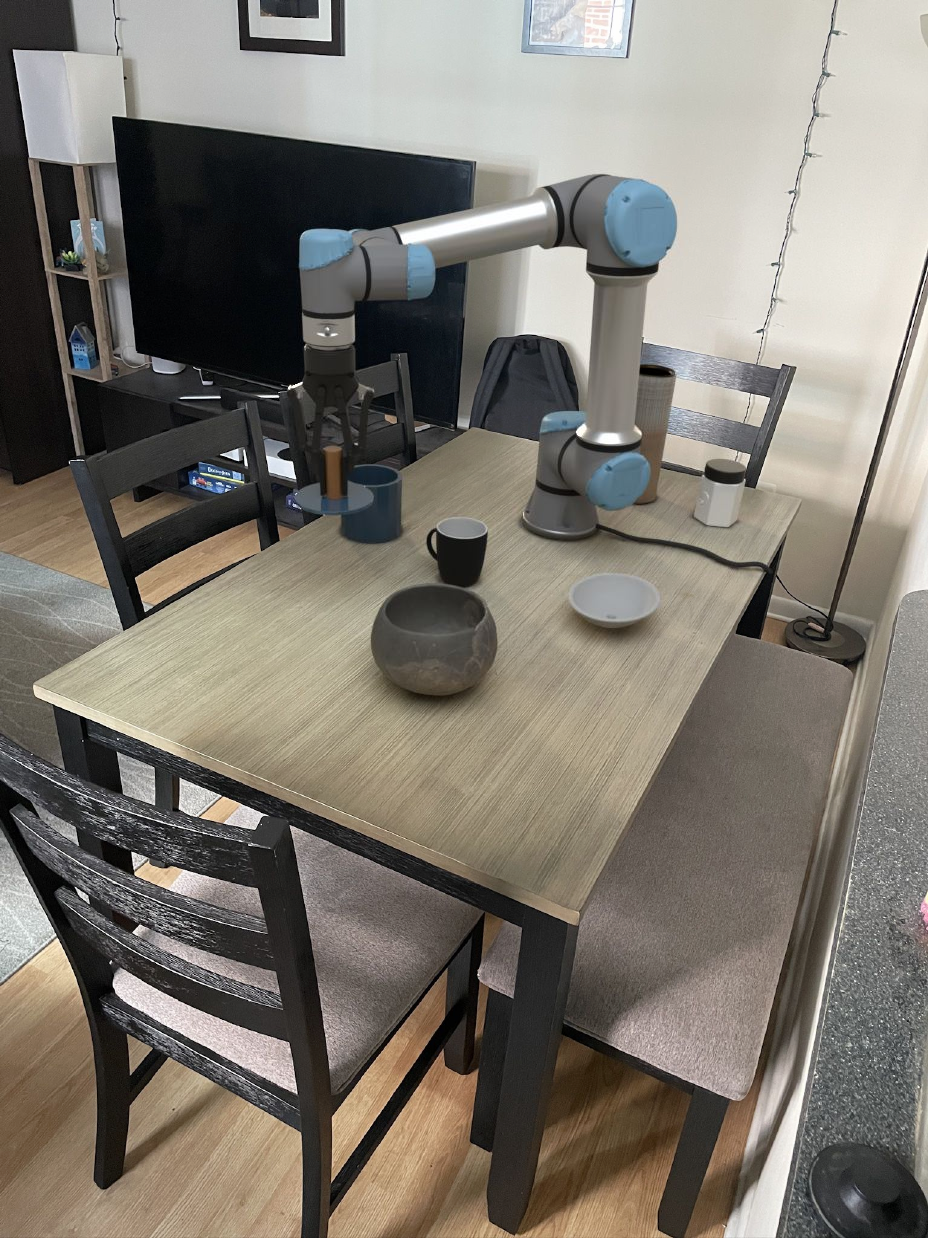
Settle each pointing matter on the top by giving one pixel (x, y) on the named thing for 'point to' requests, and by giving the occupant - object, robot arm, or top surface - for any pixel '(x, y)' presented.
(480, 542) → the mug
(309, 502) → the lid
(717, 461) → the jar
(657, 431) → the vase
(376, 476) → the blue cylindrical container
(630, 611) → the dish
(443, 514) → the top surface
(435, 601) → the bowl
